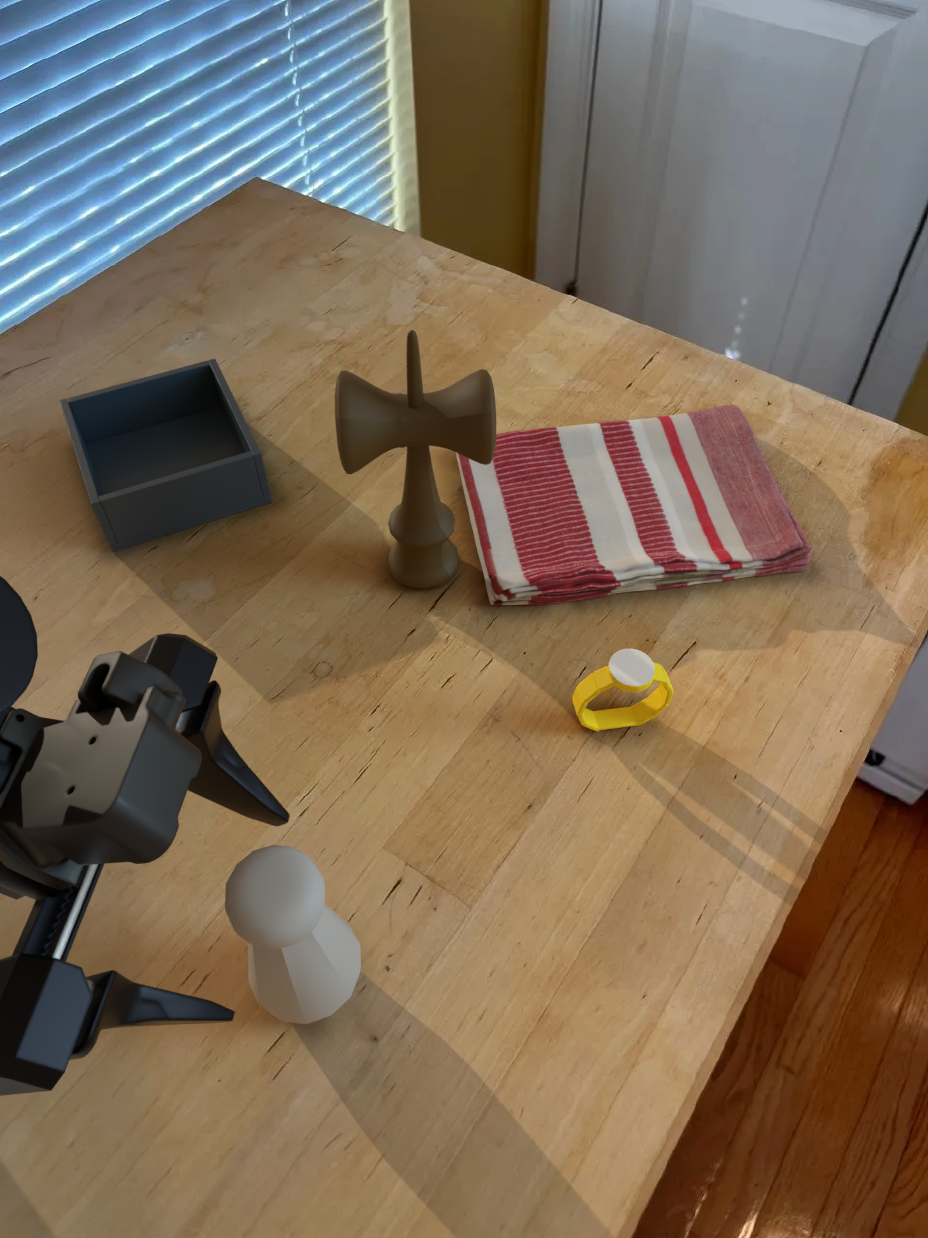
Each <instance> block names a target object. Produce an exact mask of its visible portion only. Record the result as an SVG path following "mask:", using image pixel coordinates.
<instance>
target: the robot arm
mask: <svg viewBox="0 0 928 1238" xmlns="http://www.w3.org/2000/svg"><path fill="white" fill-rule="evenodd" d="M38 648H39V646H38V633H37V630H36V626H35V624H34V620H33V617H32V614H31V613H30V611H29V609H28V606H27V605H26V604H25V601H24V600H23V599H22V597H21V595H20V594H19V593H18V592H17V591H16V590H15V588H13V587H12V585H11V584H10V583H9V582H8V581H7V580H6V578H4V577H3V576H1V575H0V895H3V896H6V897H9V898H12V899H14V900H20V899H21V898H24V897H27V898H30V899H33V900H35V901H34V903H33V905H32V908H31V910H30V913H29V915H28V917H27V919H26V921H25V924H24V926H23V929H22V931H21V933H20V935H19V938H18V940H17V941H16V945H15V947H14V950H13V952H12V953H11V955H9V956H7V957H3V958H0V1097H2V1096H12V1095H21V1094H23V1095H24V1094H33V1093H43V1092H51V1091H52V1090H53V1089H54V1088H55V1086H56V1085H57V1084H58V1083H59V1081H60V1080H61V1078H62V1077H63V1076H64V1074H65V1073H66V1070H67V1067H68V1065H69V1062H70V1061H73V1060H79V1059H80V1060H81V1059H83V1058H85V1057H86V1056H88V1055H89V1054H90V1053H91V1052H92V1050H93V1049H94V1047H95V1046H96V1044H97V1042H98V1038H99V1035H100V1033H101V1031H102V1030H108V1029H117V1028H134V1027H155V1026H156V1027H157V1026H180V1025H203V1024H224V1023H229V1022H233V1021H234V1018H235V1015H236V1011H235V1010H233V1009H231V1008H229V1007H227V1006H224V1005H223V1004H219V1003H217V1002H216V1001H213V1000H210V999H206V998H202V997H199V996H198V997H197V996H193V995H189V994H186V993H180V992H177V991H172V990H169V989H163V988H160V987H155V986H151V985H147V984H142V983H138V982H135V981H132V980H130V979H129V978H127V977H126V976H124V975H123V974H121V973H120V972H119V971H116V970H115V969H111V970H107V971H103V972H98V973H94V974H91V975H87V976H86V974H85V972H84V969H83V967H82V966H79V965H77V964H73V963H72V962H69V961H67V960H68V957H69V955H70V951H71V949H72V946H73V944H74V942H75V939H76V937H77V934H78V931H79V929H80V927H81V924H82V922H83V919H84V916H85V914H86V911H87V909H88V906H89V904H90V902H91V899H92V896H93V894H94V891H95V889H96V887H97V884H98V881H99V879H100V876H101V873H102V871H103V868H104V866H105V864H107V865H108V864H118V863H119V864H120V863H121V864H122V863H131V864H135V865H142V864H149V863H152V862H154V861H156V860H158V859H159V858H161V857H162V856H163V855H164V854H165V853H166V852H168V850H169V849H170V848H171V846H172V844H173V842H174V841H175V838H176V836H177V834H178V831H179V827H180V824H179V815H180V812H181V810H182V807H183V805H184V801H185V798H186V796H187V793H188V792H191V793H193V794H195V795H197V796H198V797H201V798H203V799H206V800H208V801H210V802H212V803H215V804H216V805H219V806H221V807H223V808H225V809H227V810H230V811H232V812H234V813H236V814H238V815H241V816H243V817H245V818H248V819H251V820H254V821H257V822H260V823H262V824H263V823H264V824H267V825H269V826H272V827H281V826H283V825H286V824H288V823H289V821H290V817H291V814H290V813H289V811H288V810H286V809H287V808H285V807H284V806H283V805H282V803H281V802H280V801H279V800H278V799H277V797H275V795H274V794H273V793H272V791H270V790H269V788H268V787H267V786H266V785H265V784H264V783H263V781H262V780H261V779H260V777H259V776H258V775H256V773H255V772H254V771H253V770H252V769H251V767H249V765H248V764H247V762H246V761H245V760H244V759H243V758H242V756H241V755H240V754H239V753H238V750H236V748H235V747H234V745H233V744H232V742H231V741H230V739H229V738H228V736H227V735H226V733H225V732H224V729H223V726H222V720H221V714H220V706H219V704H220V703H219V701H220V697H221V695H222V688H221V685H220V684H219V682H218V681H217V680H216V679H215V680H214V679H213V680H211V678H212V675H213V673H214V671H215V668H216V665H217V662H218V659H219V657H218V655H217V653H216V652H215V651H214V650H212V649H211V648H209V647H207V646H205V645H204V644H202V643H200V642H198V641H197V640H195V639H193V638H192V637H190V636H188V635H187V634H179V633H171V632H167V633H161V634H156V635H154V636H153V637H151V638H150V639H149V640H147V641H146V642H144V643H143V644H142V645H140V646H139V647H137V648H136V649H134V650H133V651H131V652H130V653H129V654H128V653H126V652H123V651H122V650H117V651H111V652H107V653H102V654H101V653H100V654H97V655H95V656H94V657H93V659H92V661H91V664H90V666H89V668H88V671H87V672H86V674H85V677H84V679H83V680H82V683H81V685H80V687H79V689H78V692H77V697H78V698H77V699H75V700H74V703H73V705H72V706H71V709H70V711H69V713H68V714H67V715H68V716H67V718H66V719H65V720H63V719H56V718H49V717H43V716H39V715H37V714H35V713H33V712H31V711H29V710H26V709H25V708H22V707H21V708H20V707H19V708H16V707H14V706H13V705H14V704H15V703H16V702H17V701H18V700H19V698H20V697H22V695H23V694H24V693H25V692H26V690H27V689H28V687H29V685H30V683H31V682H32V680H33V677H34V674H35V669H36V665H37V662H38V658H39V657H38V656H39V650H38Z"/></svg>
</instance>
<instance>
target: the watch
mask: <svg viewBox="0 0 928 1238" xmlns="http://www.w3.org/2000/svg"><path fill="white" fill-rule="evenodd" d="M653 682H654V683H658V687H656V689H654V691H652V692H651V693H650V694H649V695H648V696H647V697H645V698H644V699H642V700H640V701H638V702H636V703H634V704H632V705H630V706H623V707H615V708H608V709H607V708H606V709H600V710H599V709H598V710H591V709H589V708H587V706H588V703H589V702H591V701H592V700H594V699H595V698H596V697H597V696H598V695H600V694H601V693H602V692H604V691H607V690H610V689H611V688H614V687H616V689H619V690H621V691H624V692H627V693H639V692H640V693H641V692H643V691H645V690H647V689H648V688H649V687H650V686H651V685H652V684H653ZM673 696H674V688H673V685H672V683H671V680H670V677H669V674H668V673H667V672H666V670H665V668H664V667H663V665H662V664H660V663H657V662H655V661H653V660H652V658H651V657H650V656H649V655H648V654H647V653H646V652H643V651H641V650H640V649H636V648H622V649H619V650H617V651H616V652H613V654H612V656H611V657H610V658H609V660H608V664H607V665H605V666H603V667H601V668H598V669H596V670H594V671H593V672H591V673H590V674H588V676H586V677H585V678H584V679H582V681H579V683H578V685H577V686H576V687H575V690H574V692H573V695H572V699H571V701H572V704H573V707H574V711H575V714H576V717H577V719H578V722H579V723H580V725H582V727H584V728H588V729H589V730H591V731H594V732H596V733H599V732H600V731H605V730H611V729H613V730H614V729H620V728H628V727H635V726H640V725H643V724H644V723H646V722H649V721H650V720H652V719H655V718H656V717H657V716H659V715H660V714H661V713H662V712H663V711H664V710H665V709H666V708H667V707H668V706H669V705H670V704H671V702H672V698H673Z"/></svg>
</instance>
